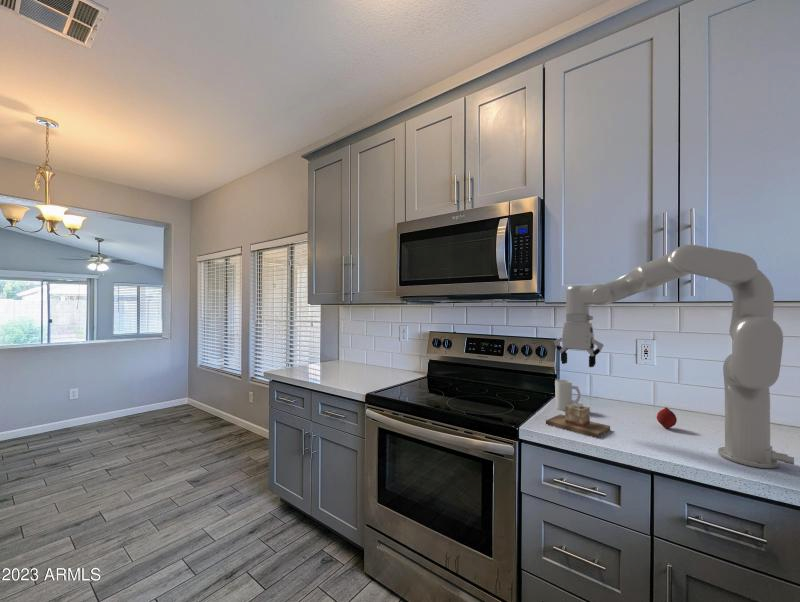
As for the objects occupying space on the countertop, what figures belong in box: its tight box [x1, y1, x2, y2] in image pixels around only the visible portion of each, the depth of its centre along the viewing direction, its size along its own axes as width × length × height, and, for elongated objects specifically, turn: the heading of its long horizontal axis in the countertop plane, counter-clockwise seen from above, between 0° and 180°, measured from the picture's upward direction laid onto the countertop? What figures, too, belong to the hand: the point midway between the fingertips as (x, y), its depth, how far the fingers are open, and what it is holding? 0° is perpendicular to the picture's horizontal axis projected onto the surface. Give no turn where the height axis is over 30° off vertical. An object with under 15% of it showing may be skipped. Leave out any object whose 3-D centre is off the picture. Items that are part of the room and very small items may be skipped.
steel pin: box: [571, 402, 584, 409], centre depth 130 cm, size 3×3×7 cm
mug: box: [554, 379, 581, 412], centre depth 152 cm, size 10×7×12 cm, turn 52°
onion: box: [656, 406, 678, 430], centre depth 129 cm, size 6×6×8 cm
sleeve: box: [564, 404, 591, 427], centre depth 130 cm, size 6×6×6 cm
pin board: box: [545, 413, 611, 439], centre depth 130 cm, size 18×12×2 cm, turn 41°
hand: (577, 365), depth 130 cm, fingers open, 9 cm apart
